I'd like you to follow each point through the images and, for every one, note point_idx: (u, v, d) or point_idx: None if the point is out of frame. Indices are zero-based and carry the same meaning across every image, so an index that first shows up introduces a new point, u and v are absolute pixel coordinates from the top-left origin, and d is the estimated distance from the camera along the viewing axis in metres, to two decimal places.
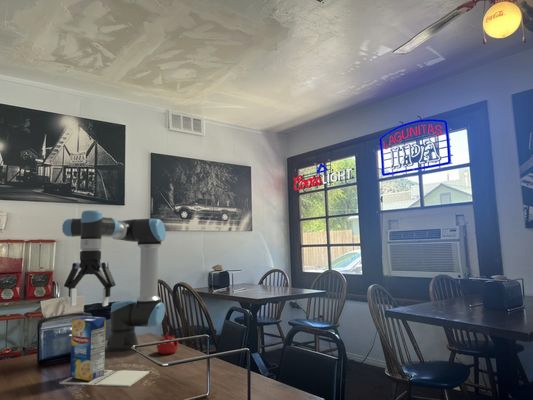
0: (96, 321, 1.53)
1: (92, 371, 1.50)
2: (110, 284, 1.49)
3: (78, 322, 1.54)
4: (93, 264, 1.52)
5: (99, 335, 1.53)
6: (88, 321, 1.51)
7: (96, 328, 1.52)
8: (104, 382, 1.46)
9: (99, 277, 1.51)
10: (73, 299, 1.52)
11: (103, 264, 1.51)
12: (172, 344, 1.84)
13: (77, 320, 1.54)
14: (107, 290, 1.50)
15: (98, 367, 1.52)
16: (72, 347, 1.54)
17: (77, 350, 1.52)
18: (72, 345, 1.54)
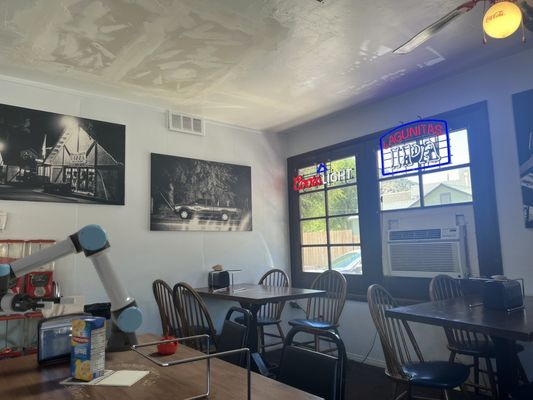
0: (96, 321, 1.53)
1: (92, 371, 1.50)
2: None
3: (78, 322, 1.54)
4: None
5: (99, 335, 1.54)
6: (88, 321, 1.51)
7: (96, 328, 1.52)
8: (104, 382, 1.46)
9: None
10: (69, 302, 1.65)
11: (17, 308, 1.55)
12: (172, 344, 1.84)
13: (77, 320, 1.54)
14: (37, 307, 1.52)
15: (98, 367, 1.52)
16: (72, 347, 1.54)
17: (77, 350, 1.52)
18: (72, 345, 1.54)
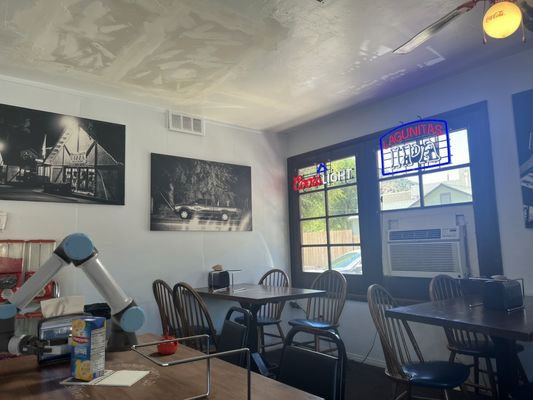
0: (96, 321, 1.53)
1: (92, 371, 1.50)
2: None
3: (78, 322, 1.54)
4: None
5: (99, 335, 1.54)
6: (88, 321, 1.51)
7: (96, 328, 1.52)
8: (104, 382, 1.46)
9: None
10: None
11: None
12: (172, 344, 1.84)
13: (77, 320, 1.54)
14: (44, 352, 1.49)
15: (98, 367, 1.52)
16: (72, 347, 1.54)
17: (77, 350, 1.52)
18: (72, 345, 1.54)
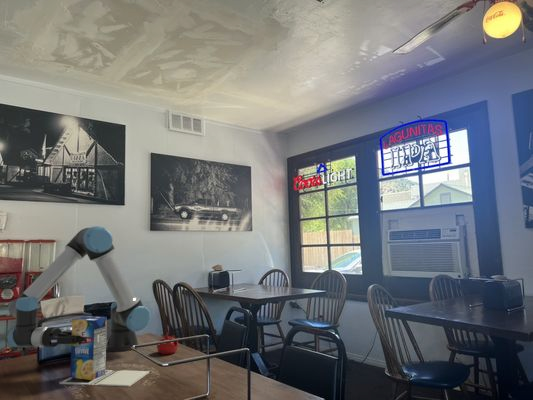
0: (98, 321, 1.54)
1: (95, 370, 1.50)
2: None
3: (79, 322, 1.54)
4: None
5: (101, 334, 1.54)
6: (90, 321, 1.52)
7: (98, 328, 1.53)
8: (104, 382, 1.46)
9: None
10: None
11: (53, 344, 1.51)
12: (172, 344, 1.84)
13: (78, 320, 1.54)
14: (82, 340, 1.52)
15: (99, 366, 1.53)
16: (72, 348, 1.53)
17: (79, 350, 1.52)
18: (73, 345, 1.54)
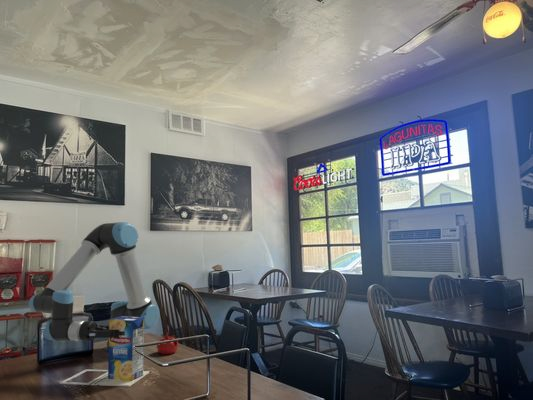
0: (136, 321, 1.51)
1: (134, 372, 1.48)
2: None
3: (117, 322, 1.51)
4: None
5: (139, 334, 1.52)
6: (129, 321, 1.49)
7: (136, 328, 1.51)
8: (104, 382, 1.46)
9: None
10: None
11: (91, 337, 1.49)
12: (172, 344, 1.84)
13: (116, 320, 1.51)
14: None
15: (138, 367, 1.50)
16: (110, 348, 1.51)
17: (117, 351, 1.50)
18: (110, 345, 1.51)
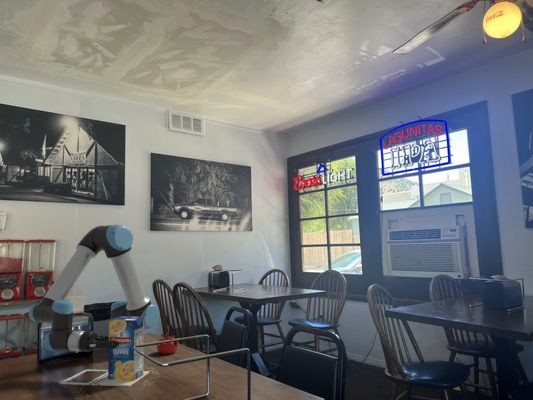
0: (137, 320, 1.51)
1: (135, 371, 1.48)
2: None
3: (117, 322, 1.51)
4: None
5: (139, 334, 1.52)
6: (130, 321, 1.49)
7: (137, 328, 1.51)
8: (104, 382, 1.46)
9: None
10: None
11: (91, 348, 1.48)
12: (172, 344, 1.84)
13: (116, 320, 1.51)
14: None
15: (139, 367, 1.51)
16: (110, 349, 1.50)
17: (117, 351, 1.49)
18: None
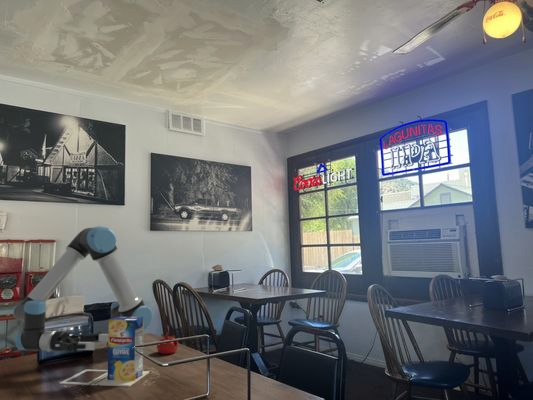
0: (138, 320, 1.52)
1: (135, 371, 1.48)
2: None
3: (117, 322, 1.50)
4: None
5: (139, 334, 1.52)
6: (131, 321, 1.50)
7: (137, 328, 1.51)
8: (104, 382, 1.46)
9: None
10: (107, 338, 1.61)
11: None
12: (172, 344, 1.84)
13: (116, 321, 1.51)
14: None
15: (139, 367, 1.51)
16: (109, 349, 1.50)
17: (117, 351, 1.49)
18: (110, 346, 1.50)
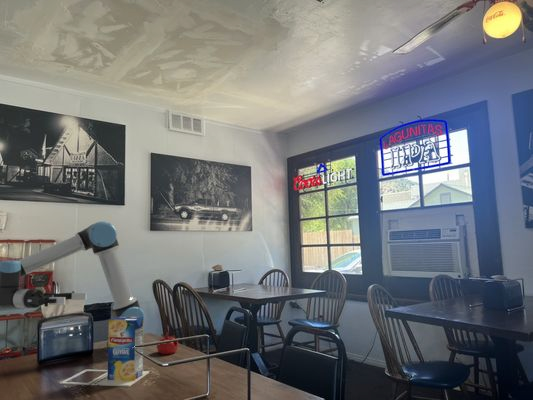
0: (138, 320, 1.52)
1: (135, 371, 1.48)
2: None
3: (117, 322, 1.50)
4: None
5: (139, 334, 1.52)
6: (131, 321, 1.50)
7: (137, 328, 1.51)
8: (104, 382, 1.46)
9: None
10: (80, 297, 1.66)
11: (29, 303, 1.55)
12: (172, 344, 1.84)
13: (116, 321, 1.51)
14: (49, 302, 1.52)
15: (139, 367, 1.51)
16: (109, 349, 1.50)
17: (117, 351, 1.49)
18: (110, 346, 1.50)
